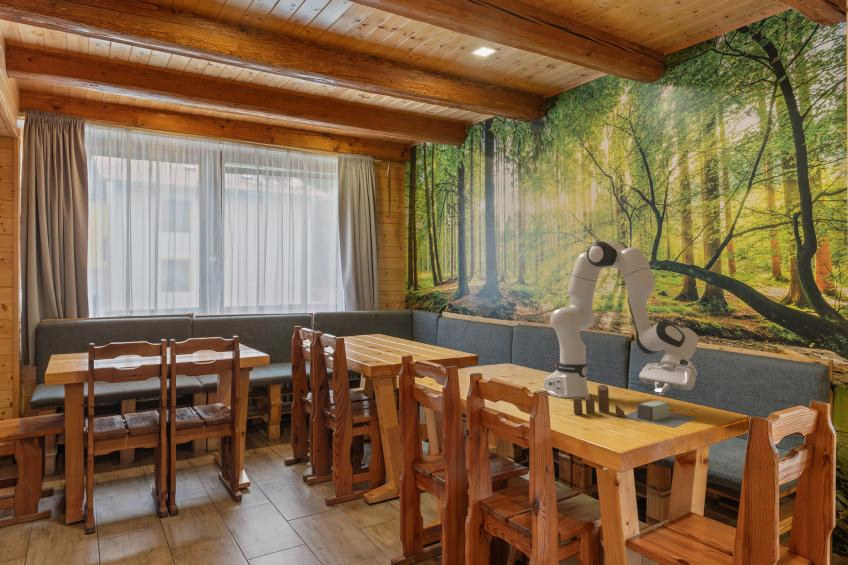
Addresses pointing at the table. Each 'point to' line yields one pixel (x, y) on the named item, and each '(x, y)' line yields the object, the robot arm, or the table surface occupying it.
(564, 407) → the table surface
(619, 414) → the wooden block set
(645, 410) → the sage block
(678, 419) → the slate mat
